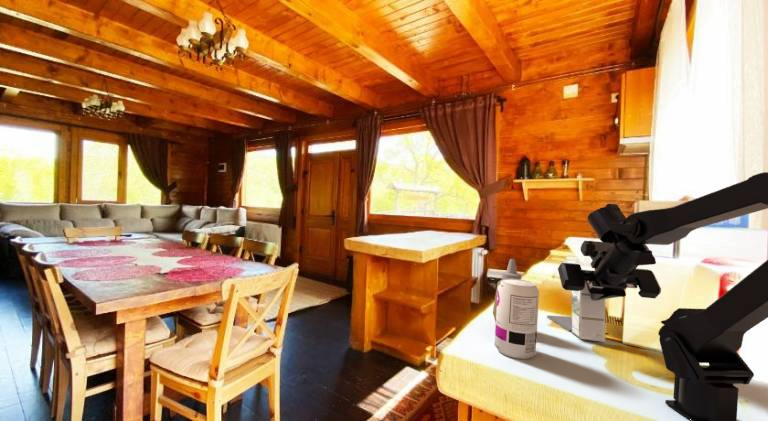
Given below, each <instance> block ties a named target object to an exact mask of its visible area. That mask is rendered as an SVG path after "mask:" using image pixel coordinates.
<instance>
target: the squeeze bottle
mask: <svg viewBox="0 0 768 421" xmlns="http://www.w3.org/2000/svg"><path fill="white" fill-rule="evenodd" d="M517 271H518V270H517V265H516V259H514V258H510V259H509V261H508V265H507V269H506V271H502V272H501V279H500V280H499V281H497V284H496V290H495V295H494V296H495V297H494V303H493V310H492V315H493V318H494V321H495V324H496V310H497V293H498V286H499V284H500V283H501V280H502V279H520V280H522V274H521V273H518V272H517Z"/></svg>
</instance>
